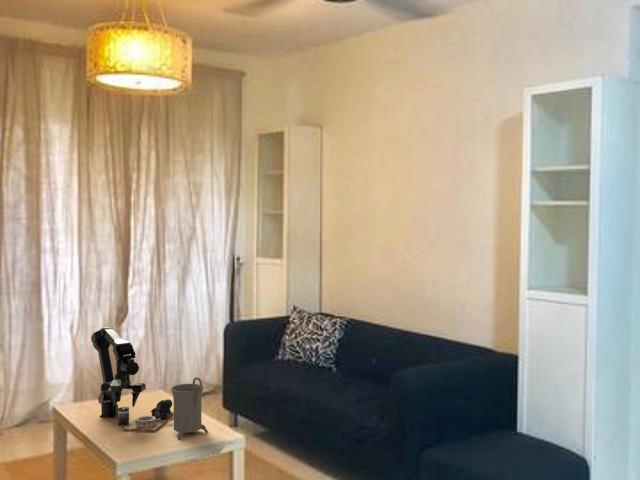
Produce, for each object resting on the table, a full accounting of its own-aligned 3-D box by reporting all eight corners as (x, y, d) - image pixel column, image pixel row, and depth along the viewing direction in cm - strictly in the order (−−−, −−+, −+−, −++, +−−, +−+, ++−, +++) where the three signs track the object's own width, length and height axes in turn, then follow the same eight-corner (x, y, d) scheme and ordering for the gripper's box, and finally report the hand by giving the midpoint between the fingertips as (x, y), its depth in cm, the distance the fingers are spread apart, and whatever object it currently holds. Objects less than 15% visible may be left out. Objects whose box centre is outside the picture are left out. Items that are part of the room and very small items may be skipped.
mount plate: (123, 430, 283) (123, 422, 283) (137, 420, 297) (137, 413, 297) (154, 432, 281) (154, 424, 281) (167, 422, 295) (167, 414, 295)
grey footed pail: (161, 433, 280) (160, 374, 279) (190, 425, 291) (190, 368, 290) (186, 443, 267) (186, 381, 266) (216, 435, 278) (216, 375, 277)
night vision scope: (167, 416, 312) (183, 403, 311) (154, 429, 294) (171, 415, 293) (157, 403, 312) (172, 390, 311) (143, 415, 294) (160, 401, 293)
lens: (116, 425, 291) (116, 409, 290) (121, 422, 295) (120, 406, 295) (126, 426, 290) (126, 410, 290) (131, 422, 295) (130, 407, 294)
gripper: (94, 374, 285) (94, 410, 286) (135, 376, 283) (135, 412, 283) (106, 368, 296) (106, 403, 297) (146, 370, 294) (146, 405, 294)
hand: (123, 406), depth 292 cm, fingers open, 9 cm apart
